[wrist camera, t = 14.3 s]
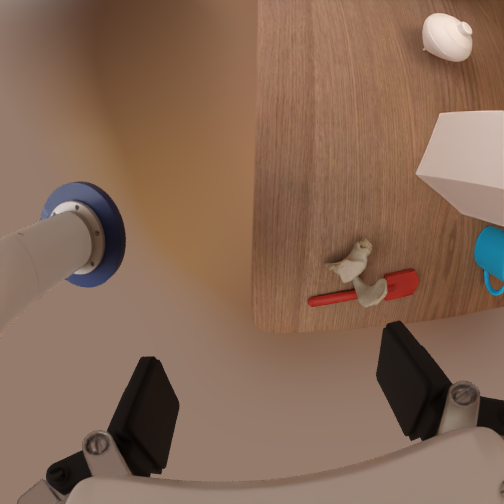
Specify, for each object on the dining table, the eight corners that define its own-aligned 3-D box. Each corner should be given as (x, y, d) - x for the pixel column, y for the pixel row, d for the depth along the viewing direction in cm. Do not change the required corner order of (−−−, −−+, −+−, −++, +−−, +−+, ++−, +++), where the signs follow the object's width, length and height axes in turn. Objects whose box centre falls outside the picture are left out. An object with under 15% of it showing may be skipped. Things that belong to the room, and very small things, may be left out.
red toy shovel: (308, 312, 40) (309, 317, 39) (306, 287, 39) (308, 292, 38) (414, 290, 39) (418, 294, 38) (416, 267, 38) (421, 270, 37)
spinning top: (398, 24, 26) (437, -6, 14) (436, 37, 25) (478, 16, 14) (407, 65, 28) (453, 42, 17) (445, 76, 28) (493, 62, 16)
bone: (320, 232, 35) (383, 259, 27) (351, 225, 38) (410, 248, 30) (314, 290, 38) (368, 325, 30) (344, 278, 41) (396, 307, 33)
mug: (477, 226, 35) (507, 239, 28) (501, 224, 35) (529, 237, 27) (467, 288, 39) (492, 308, 31) (491, 282, 39) (515, 299, 31)
